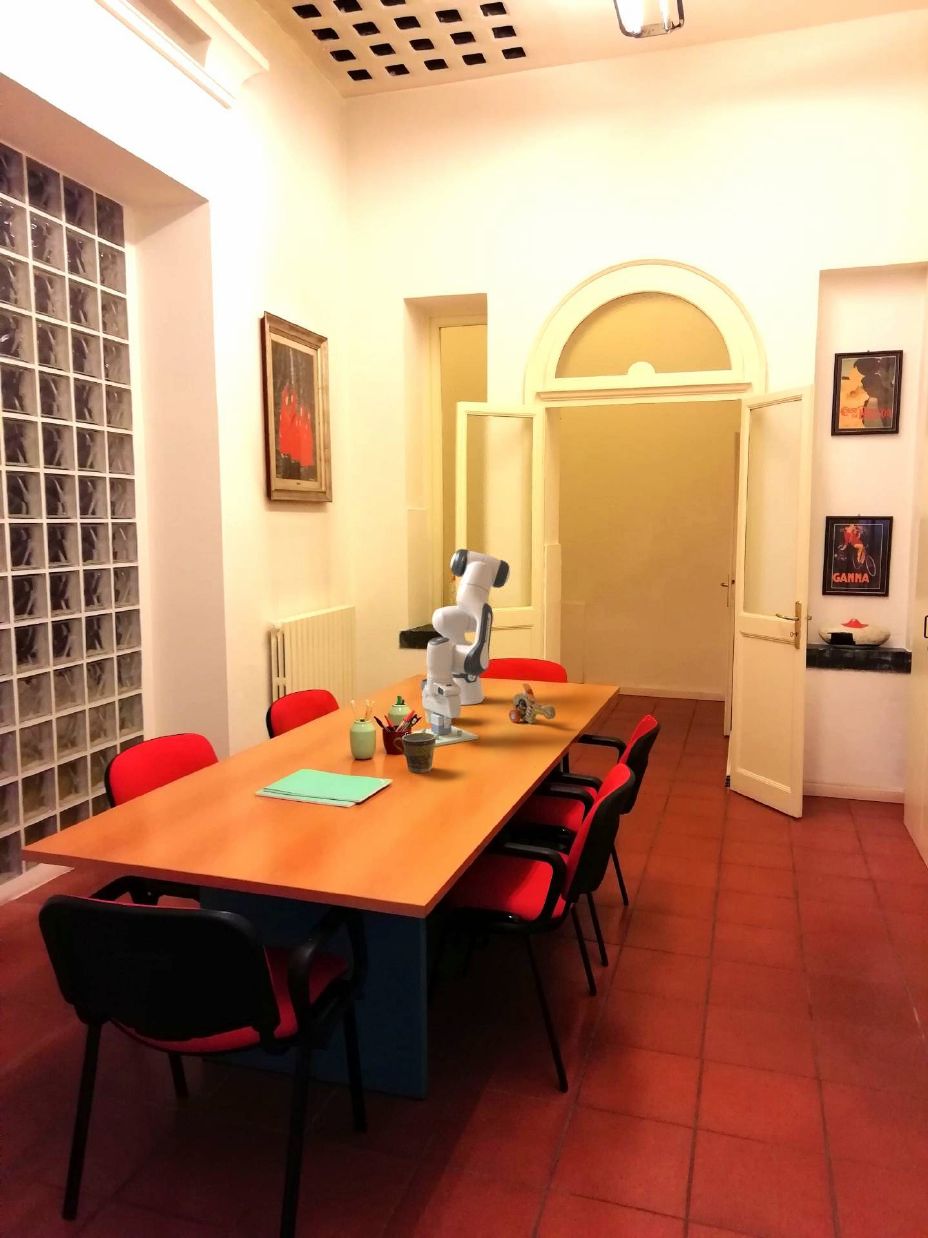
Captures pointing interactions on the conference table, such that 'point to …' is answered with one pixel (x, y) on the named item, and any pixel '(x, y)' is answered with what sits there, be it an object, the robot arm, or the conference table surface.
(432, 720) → the brick stack
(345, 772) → the conference table surface
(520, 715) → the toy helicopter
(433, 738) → the ceramic cup
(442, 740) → the baseplate
